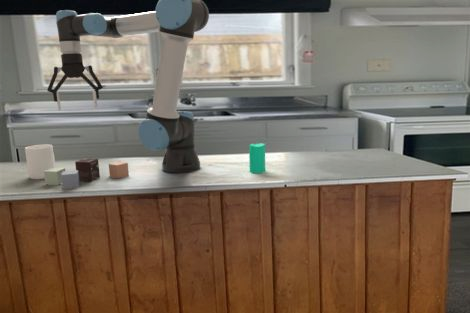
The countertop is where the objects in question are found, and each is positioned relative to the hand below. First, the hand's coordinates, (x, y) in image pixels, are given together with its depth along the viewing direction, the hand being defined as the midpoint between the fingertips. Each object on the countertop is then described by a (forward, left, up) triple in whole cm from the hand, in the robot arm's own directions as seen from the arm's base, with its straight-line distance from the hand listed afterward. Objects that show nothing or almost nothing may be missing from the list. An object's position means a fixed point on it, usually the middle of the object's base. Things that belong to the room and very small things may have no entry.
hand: (78, 108), depth 161 cm
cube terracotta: (-20, +5, -25) cm, 32 cm away
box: (-12, +12, -25) cm, 31 cm away
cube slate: (-12, +22, -25) cm, 35 cm away
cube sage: (-4, +20, -25) cm, 32 cm away
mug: (+9, +12, -25) cm, 29 cm away
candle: (-69, -14, -25) cm, 75 cm away
